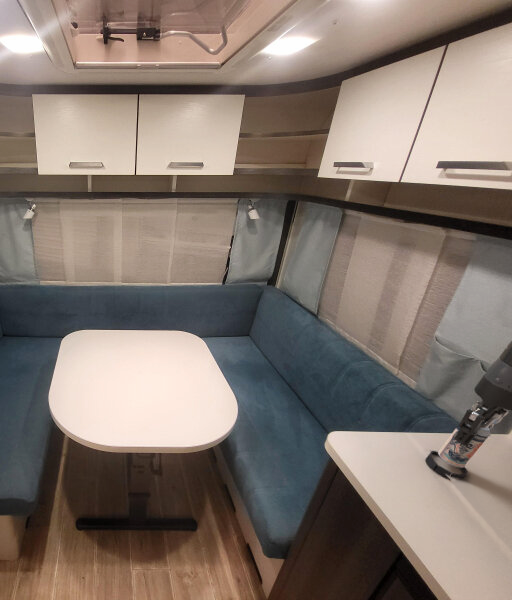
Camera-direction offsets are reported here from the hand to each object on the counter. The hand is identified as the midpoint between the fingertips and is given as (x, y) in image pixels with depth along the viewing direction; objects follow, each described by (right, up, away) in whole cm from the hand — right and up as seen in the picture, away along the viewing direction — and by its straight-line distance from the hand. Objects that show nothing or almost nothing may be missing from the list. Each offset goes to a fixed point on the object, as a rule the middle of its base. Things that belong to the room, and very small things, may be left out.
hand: (466, 439), depth 73 cm
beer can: (0, -7, +3) cm, 8 cm away
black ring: (-1, -10, +5) cm, 11 cm away
